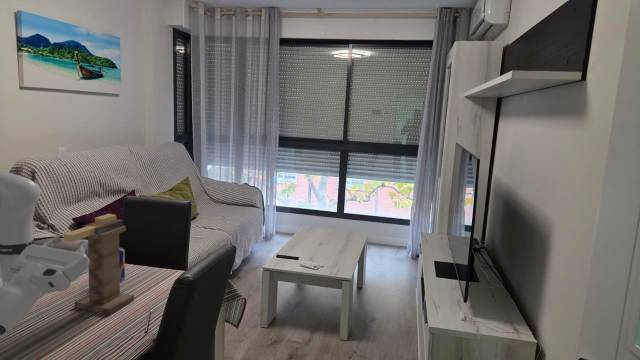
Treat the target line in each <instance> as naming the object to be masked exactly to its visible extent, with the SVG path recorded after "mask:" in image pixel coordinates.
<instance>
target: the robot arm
mask: <svg viewBox="0 0 640 360" xmlns="http://www.w3.org/2000/svg"><path fill="white" fill-rule="evenodd" d="M41 195H42V192H41V189H40V187H39V186H38V184H37V183H36V182H34V181H33V180H32V179H30V178H27V177H25V176H22V175H18V174H15V173H14V172H13V173H11V172H7V171H6V172H4V171H3V172H0V336H2V335H5V334H7V333H9V331H11V330H12V329H13V328H14V327H16V326H17V325H18V324H19V323H20V322H21V321H22V319H23V318H25V317H26V316H27V314H29V312H30V311H31V310H32V308H33V306H34V305H35V304H36V302H38V301H39V300H40V299H42V298H43V297H44V296H45V295H46V294H50V293H55V292H56V293H57V292H64V291H68V290H69V289H70V288H71V283H73V282H75V281H76V280H78V278H80V277H81V276H82V275H83V274H84V273H85V271H86V270H87V269H88V268H89V265H90V260H89V258H88V255H87V254H86V249H88V241H84V240H82V241H80V242H79V243H78V244H77V245H78V247H79V248H78V249H76V250H75V251H71V250H66V249H62V248H61V249H60V248H55V246H56V245H57V246H58V245H60V244H61V243H62V238H61V237H60V236H54V237H53V238H52V239H51V240H48V241H46V242H44V243H43V244H42V245H38V244H37V243H36V239H35V237H34V214H35V210H36V205H37V203H38V202H39V200H40V198H41Z"/></svg>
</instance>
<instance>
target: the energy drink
mask: <svg viewBox="0 0 640 360" xmlns="http://www.w3.org/2000/svg"><path fill="white" fill-rule="evenodd" d="M125 257H126V256H125V249H124V248H123V247H119V261H120V282H123V281H124V280H125V278H126V276H125V275H126V272H125V271H126V267H125V264H126V262H125V261H126V260H125V259H126V258H125Z"/></svg>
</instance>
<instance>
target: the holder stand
mask: <svg viewBox="0 0 640 360" xmlns="http://www.w3.org/2000/svg"><path fill="white" fill-rule="evenodd" d="M93 224H95V221H94V222H91V223H87V224H85V225H82V228H84V227H87V226H90V225H93ZM126 231H127V227H126V225H124V219H117V218H116V221H115V222H112V223H109V224H106V225H103V226H100V227H97V228H95V234H93V235H91V236H88V237H87V243H88V247H87V252H88V253H87V254H88V255H87V257H88V258H89V260H90V265H89V266H88V294H86V295H85V296H83V297H81V298H79V299H77V300H76V301H74V308H76V309H79V310H80V309H81V310H84V311H89V312H93V313H94V312H95V313H99V314H103V315H106V316H107V315H108V316H112V315H113V314H115V313H116V312H118V311H120V310H122V309H123V308H124V307H126V306H128V305H129V304H131V303H132V302H134V301H135V295H134V294H129V293H124V292H121V290H120V289H121V285H120V284H121V283H120V282H121V281H120V261H119V248H120V233H123V232H126Z"/></svg>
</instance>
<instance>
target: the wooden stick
mask: <svg viewBox="0 0 640 360" xmlns="http://www.w3.org/2000/svg"><path fill="white" fill-rule="evenodd" d="M116 219H117V214H114V213H113V214H112V213H107V214H104V215H100V216H97V217H94V222H95V224H93V225H90V226H87V227H84V228H83V227H81V228H78V229H75V230H72V231H68V232H66V233H63V241H65V242H71V243H73V242H76V241H78V240H81V239H85V238H88V236H91V235H93V234H95V228H97V227H100V226H103V225H106V224H109V223H112V222H115V221H116Z"/></svg>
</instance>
